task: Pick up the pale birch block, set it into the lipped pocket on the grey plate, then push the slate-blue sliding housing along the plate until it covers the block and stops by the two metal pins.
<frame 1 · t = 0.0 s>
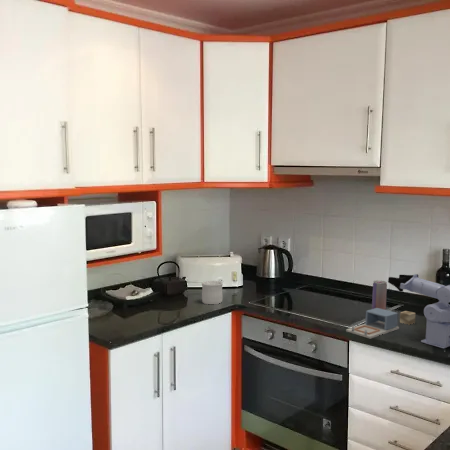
hand: (394, 278, 219), 22 cm above the worktop, tool horizontal, fingers open, 7 cm apart
beverage can: (378, 314, 245), on the worktop
housing: (381, 318, 225), point 4 cm above the worktop, slide at 10.0 cm
birch block: (407, 323, 233), on the worktop
base plate: (373, 330, 222), on the worktop
cup: (212, 302, 262), on the worktop
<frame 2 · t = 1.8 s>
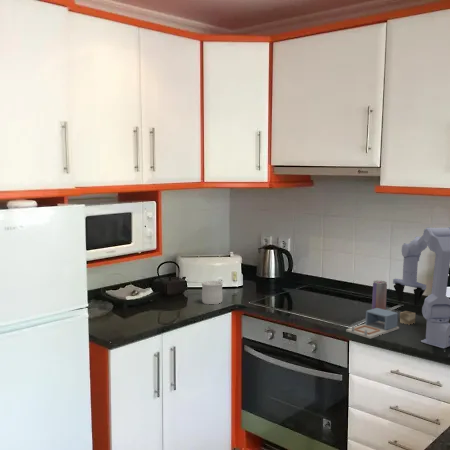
hand: (408, 303, 232), 9 cm above the worktop, tool pointing down, fingers open, 7 cm apart
nothing on the worktop moved.
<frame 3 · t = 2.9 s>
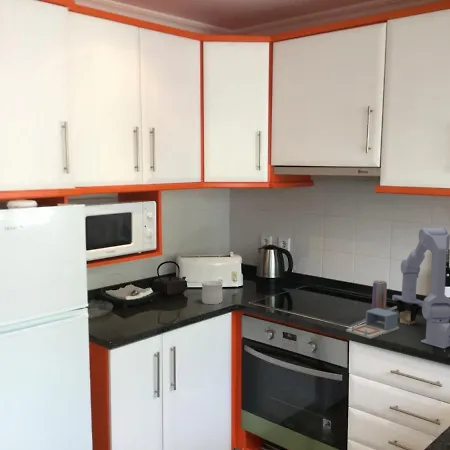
hand: (407, 319, 233), 1 cm above the worktop, tool pointing down, fingers closed on birch block, 4 cm apart
birch block: (407, 322, 233), on the worktop, touching gripper
everything else where it was.
when the fingers open (3 cm above the worktop, at t = 7.0 s): birch block stays where it is, resting on base plate.
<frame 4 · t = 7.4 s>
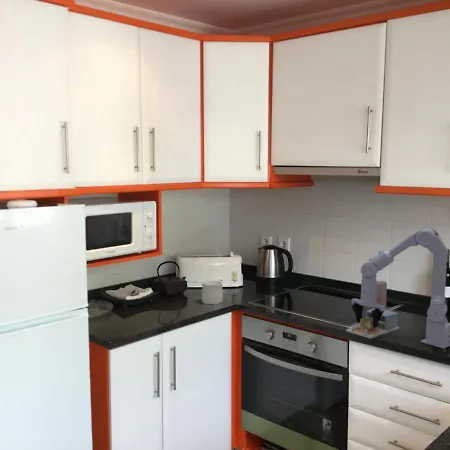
hand: (367, 324, 219), 3 cm above the worktop, tool pointing down, fingers open, 7 cm apart
birch block: (368, 330, 220), point 1 cm above the worktop, touching base plate
everything else where it was.
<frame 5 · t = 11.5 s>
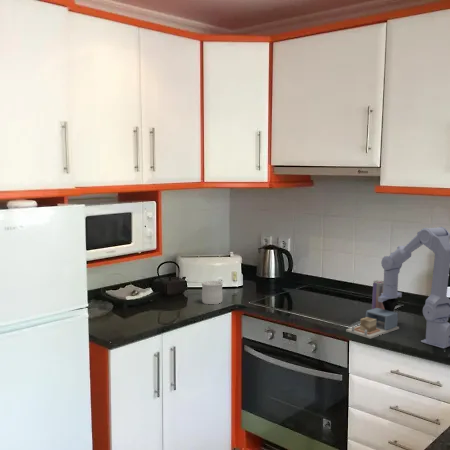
hand: (389, 316, 229), 4 cm above the worktop, tool pointing down, fingers closed
housing: (381, 318, 225), point 4 cm above the worktop, slide at 10.0 cm, touching gripper
everything else where it was.
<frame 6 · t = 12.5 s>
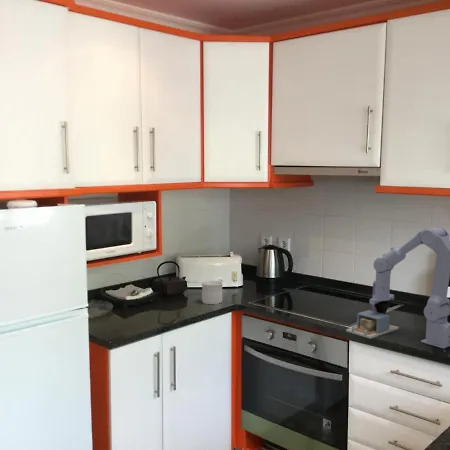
hand: (381, 318, 225), 4 cm above the worktop, tool pointing down, fingers closed
housing: (373, 321, 221), point 4 cm above the worktop, slide at 4.3 cm, touching gripper
everything else where it was.
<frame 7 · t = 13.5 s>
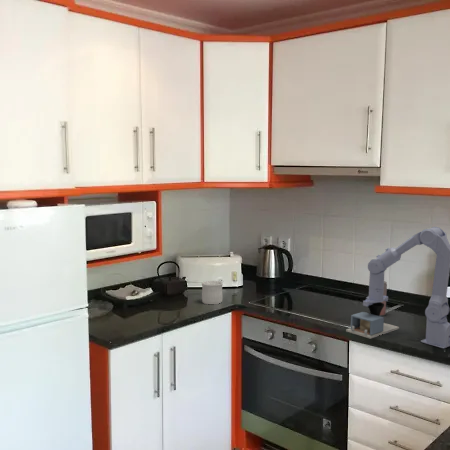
hand: (374, 320, 222), 4 cm above the worktop, tool pointing down, fingers closed
housing: (367, 323, 219), point 4 cm above the worktop, slide at 0.0 cm, touching gripper
everything else where it was.
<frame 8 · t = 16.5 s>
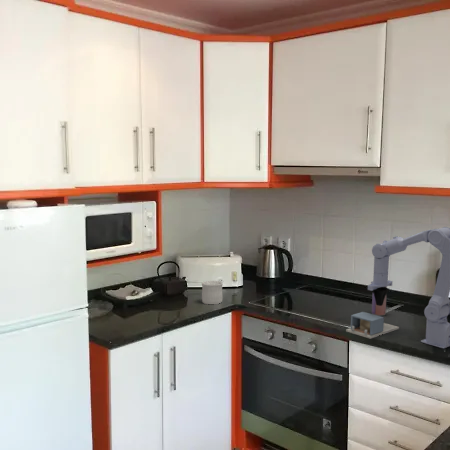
hand: (379, 305, 223), 10 cm above the worktop, tool pointing down, fingers closed
housing: (367, 323, 219), point 4 cm above the worktop, slide at 0.0 cm
everything else where it was.
at the end: birch block 0.8 cm from the target spot, point 0.8 cm above the worktop; birch block tilted 0°; housing slide at 0.0 cm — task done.
